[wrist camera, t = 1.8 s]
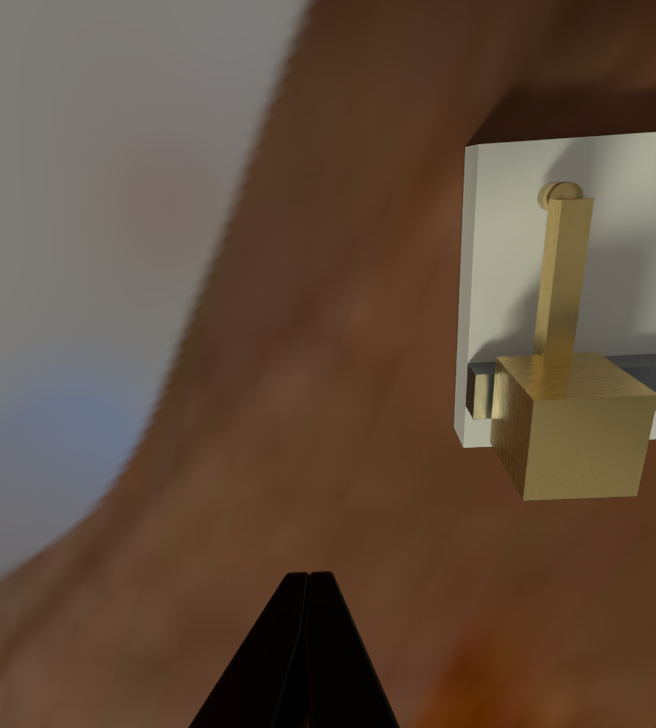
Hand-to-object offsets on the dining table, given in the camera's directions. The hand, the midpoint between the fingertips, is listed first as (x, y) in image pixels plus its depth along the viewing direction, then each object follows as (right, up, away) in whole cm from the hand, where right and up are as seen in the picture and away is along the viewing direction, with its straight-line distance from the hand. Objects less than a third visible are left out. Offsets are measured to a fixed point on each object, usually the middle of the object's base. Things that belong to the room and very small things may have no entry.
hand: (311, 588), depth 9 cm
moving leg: (+7, +6, +6) cm, 11 cm away
